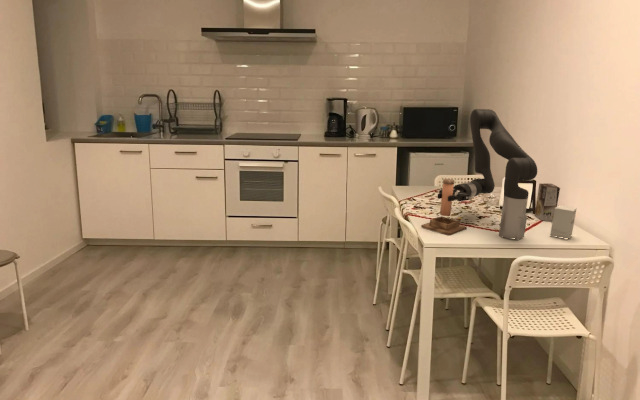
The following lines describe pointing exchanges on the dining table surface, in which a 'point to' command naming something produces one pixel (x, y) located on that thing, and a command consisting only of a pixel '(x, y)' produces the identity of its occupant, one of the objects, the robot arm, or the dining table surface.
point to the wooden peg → (446, 197)
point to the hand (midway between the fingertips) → (443, 197)
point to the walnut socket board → (444, 225)
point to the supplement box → (563, 221)
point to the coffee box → (546, 201)
